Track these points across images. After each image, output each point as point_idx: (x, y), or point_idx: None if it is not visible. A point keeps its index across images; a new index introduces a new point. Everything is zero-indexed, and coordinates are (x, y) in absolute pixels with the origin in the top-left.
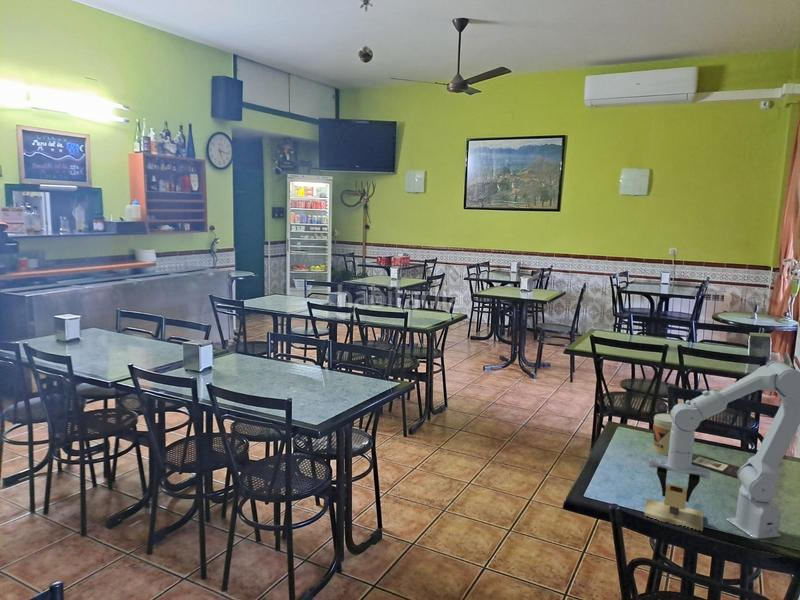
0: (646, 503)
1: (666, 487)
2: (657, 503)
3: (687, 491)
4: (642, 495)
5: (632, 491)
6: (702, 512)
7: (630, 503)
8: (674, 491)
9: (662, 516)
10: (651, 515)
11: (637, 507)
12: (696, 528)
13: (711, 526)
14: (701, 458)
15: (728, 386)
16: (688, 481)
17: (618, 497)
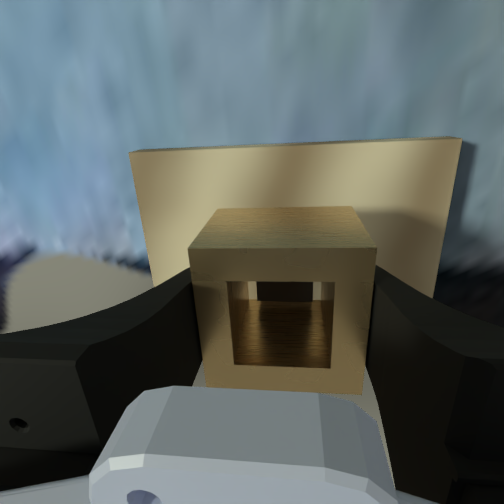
0: (142, 217)
1: (202, 332)
2: (192, 182)
3: (374, 379)
4: (92, 52)
5: (25, 26)
6: (456, 154)
7: (78, 206)
8: (269, 373)
9: None
10: None
11: (118, 231)
12: None
13: (476, 243)
14: None
15: None
16: (406, 356)
17: (7, 170)
